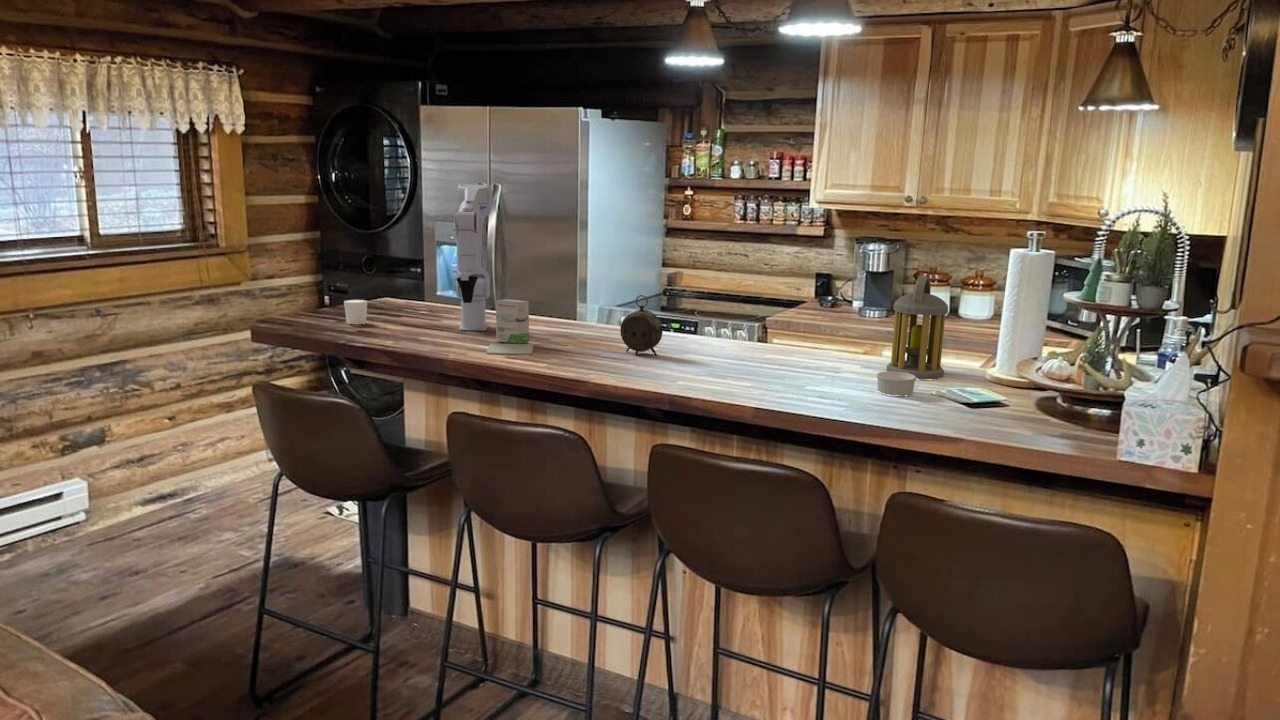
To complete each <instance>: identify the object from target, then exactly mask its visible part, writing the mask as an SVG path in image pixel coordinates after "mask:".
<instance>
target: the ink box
mask: <svg viewBox="0 0 1280 720" xmlns="http://www.w3.org/2000/svg"><path fill="white" fill-rule="evenodd" d="M495 308H496V309H495V311H496V312H495V313H496V314H495V318H496V319H495V320H496V321H495V323H496V324H495V325H496V326H495V327H496V328H495V329H496V332H495V333H496V334H495V335H496V336H495V337H496V339H495V340H496V342H499V343H506V344H528V343H530V320H529V319H530V313H529V309H530V308H529V301H528V300H527V301H526V300H517V299H516V300H515V299H509V298H507V299H496V300H495Z"/></svg>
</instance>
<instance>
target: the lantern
mask: <svg viewBox="0 0 1280 720" xmlns="http://www.w3.org/2000/svg"><path fill="white" fill-rule="evenodd" d="M931 289H932V288H931V280H930V277H928V276H923V275H922V276H921V275H920V276H918V278H917V279H916V282H915V285H914V290H913V292H911V293H907V294H904V295H902V296H901V297H899V298H897V300H895V301H894V303H893V310H894V321H893V322H894V323H893V334H892V343H891V345H892V347H891V358H890V359H891V360H890V362H889V363H888V364H887V366H886V371H887V372H890V371H892V372H904V373H909V374H912V375H914V376H916V378H918V379H937V380H939V379H938V378H941V379H943V378H944V373H945V370H944V368H943V367H942V366H941V365H942V364H941V363H942V356H943V355H942V352H943V344H944V342H943V341H944V333H945V322H946V315H947V314H949V313H948V312H949V305H948V304H947V303H946V302H945V301H944V300H943V299H942V298H940V297H939V296H937V295H935V294H931V292H932V291H931ZM918 315H919V316H922V320H921V321H922V324H920V323H919V324H918ZM909 316H910V317H909ZM908 328H909V329H908ZM907 338H908V339H907ZM907 340H908V341H907ZM886 371H885V372H886ZM942 377H943V378H942Z"/></svg>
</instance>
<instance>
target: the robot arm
mask: <svg viewBox="0 0 1280 720" xmlns="http://www.w3.org/2000/svg"><path fill="white" fill-rule="evenodd" d="M492 189H493V188H492V185H491V184H488V183H487V184H470V183H469V184H467V183H459V185H458V187H457V202H458V207H459V209H458V211H457V213H455V214H454V217H453V227H454V232H455V234H454V235H455V236H454V237H455V239H456V269H453V270H452V273H453V274H456V280H455V295H456V297H457V298H458V299H459V300H460V315H461V316H460V318H461V319H460V320H461V324H460V326H459V328H458V331H487V329H488V326H489V323H486V299H488V298H490V295H491V281H490V280H491V278H490V274H489V272H488V271H487V270H486V269H485V268H483V267H482V251H483V250H482V247H483V227H484V226H483V225H484V222H485V221H484V220H485V218H486V217H487V216H489V215H490V214H491V211H492V199H493V198H492V197H493V194H492V192H493V191H492Z"/></svg>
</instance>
